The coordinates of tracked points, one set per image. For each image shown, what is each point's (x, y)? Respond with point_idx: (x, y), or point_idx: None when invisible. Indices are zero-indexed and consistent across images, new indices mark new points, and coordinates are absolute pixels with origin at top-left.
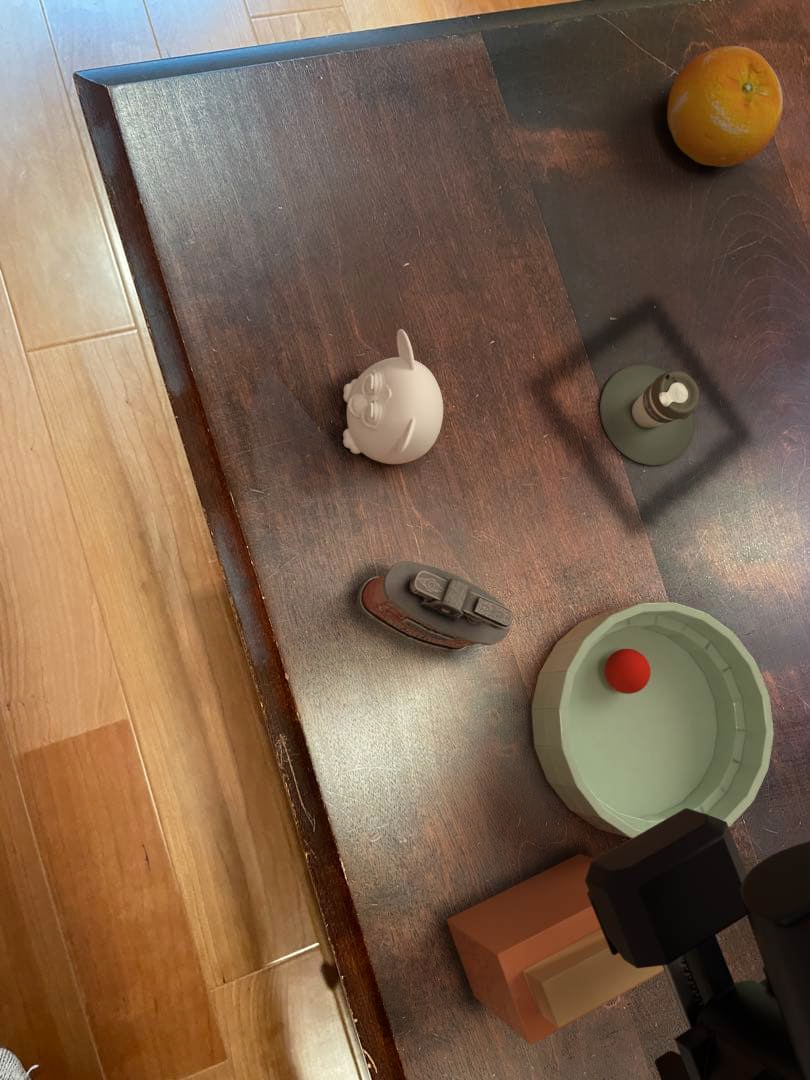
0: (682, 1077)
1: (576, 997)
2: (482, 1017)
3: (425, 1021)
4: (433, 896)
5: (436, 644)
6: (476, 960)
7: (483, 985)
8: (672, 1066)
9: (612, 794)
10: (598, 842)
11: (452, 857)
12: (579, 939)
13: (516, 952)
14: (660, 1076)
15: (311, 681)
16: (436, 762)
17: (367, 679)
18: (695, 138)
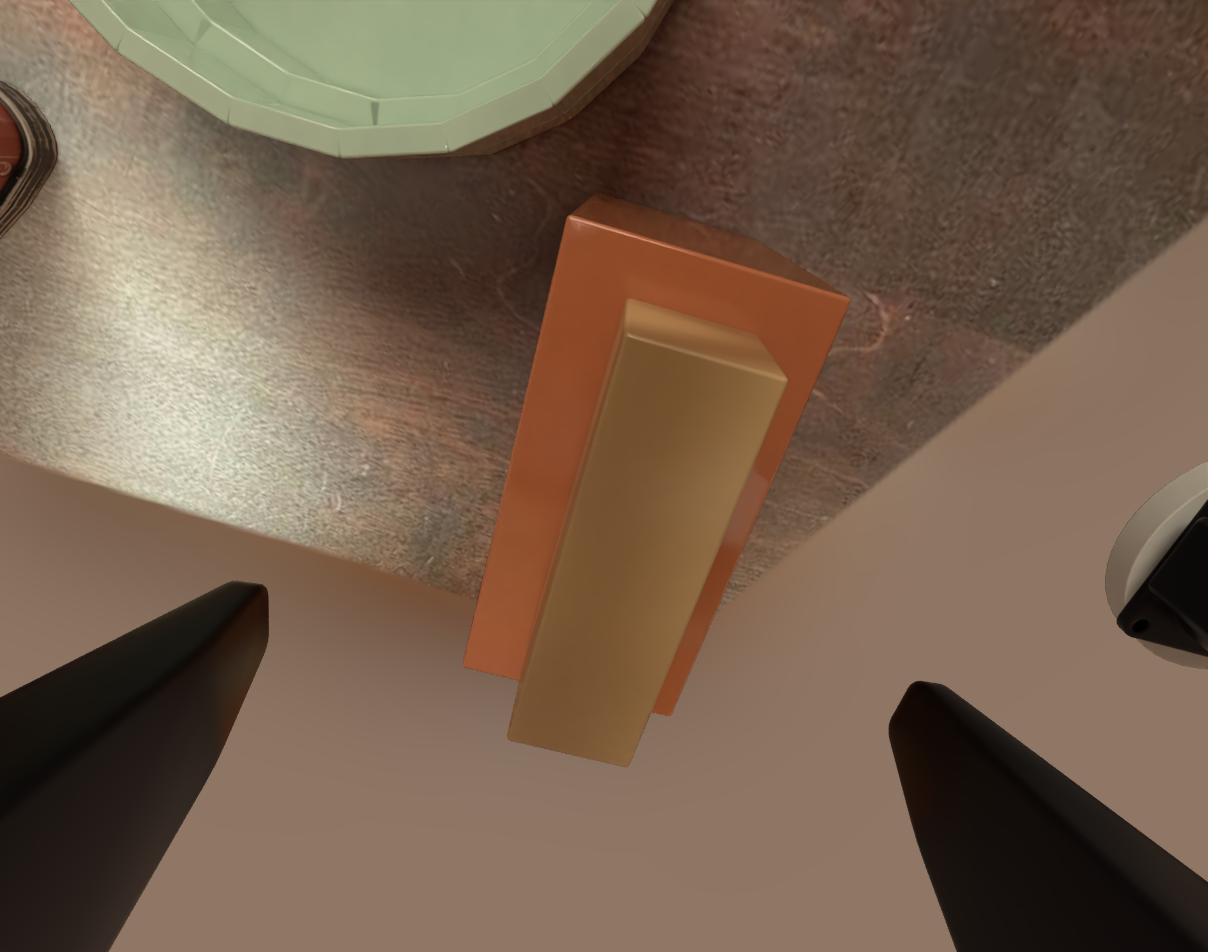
0: (973, 849)
1: (601, 701)
2: None
3: None
4: (477, 483)
5: (3, 194)
6: None
7: None
8: (932, 777)
9: (527, 19)
10: (608, 132)
11: (439, 419)
12: (564, 510)
13: (484, 636)
14: (912, 821)
15: (36, 436)
16: (266, 338)
17: (62, 353)
18: None
